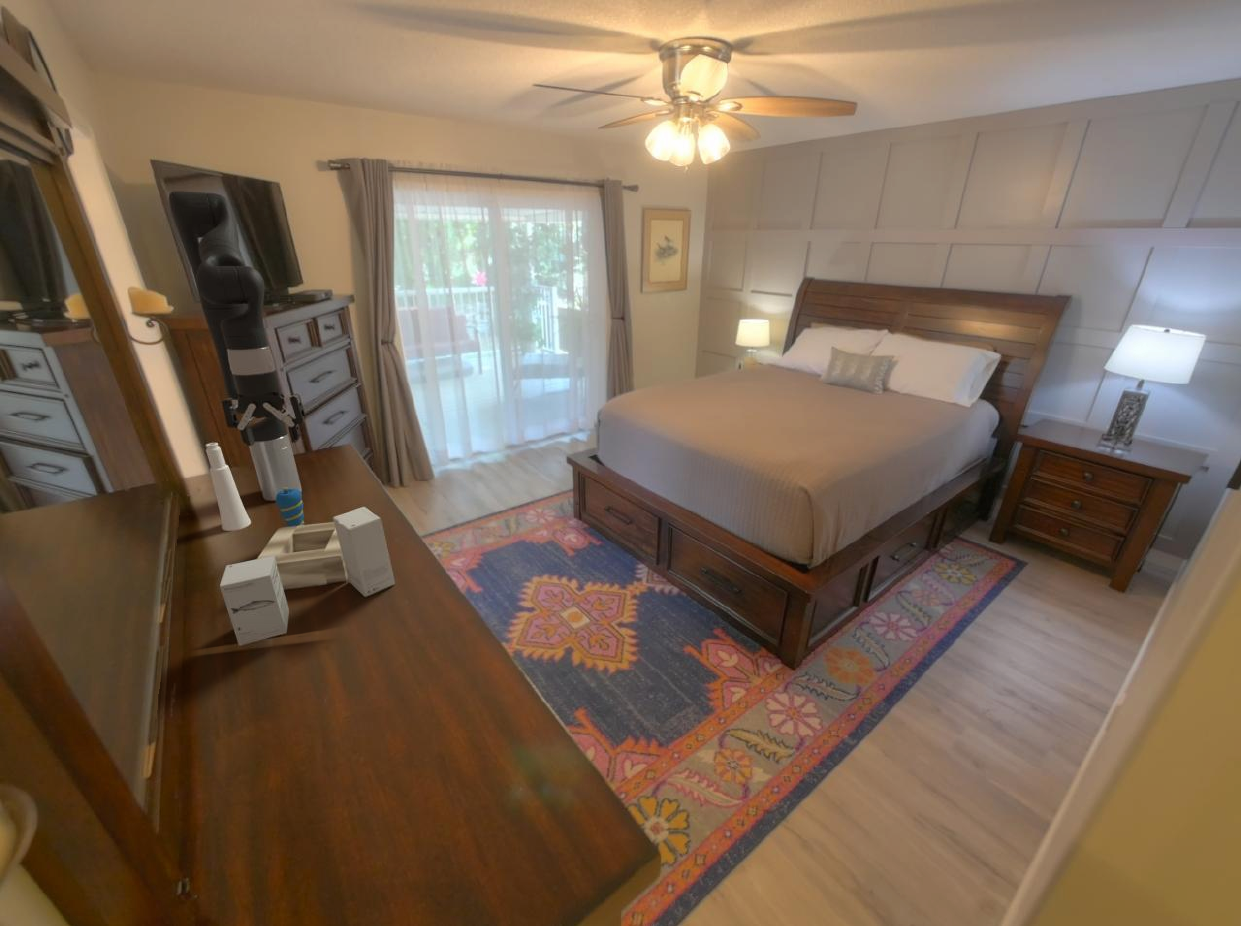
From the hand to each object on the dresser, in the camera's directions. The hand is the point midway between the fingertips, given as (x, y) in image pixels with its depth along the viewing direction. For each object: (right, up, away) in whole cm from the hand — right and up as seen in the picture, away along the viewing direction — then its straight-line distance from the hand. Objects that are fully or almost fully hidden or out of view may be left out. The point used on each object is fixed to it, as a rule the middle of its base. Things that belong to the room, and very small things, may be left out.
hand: (273, 443), depth 111 cm
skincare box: (+24, -30, -6) cm, 39 cm away
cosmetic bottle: (-20, -20, +16) cm, 33 cm away
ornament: (0, -23, +9) cm, 25 cm away
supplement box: (+11, -35, -18) cm, 41 cm away
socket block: (+9, -27, 0) cm, 28 cm away
